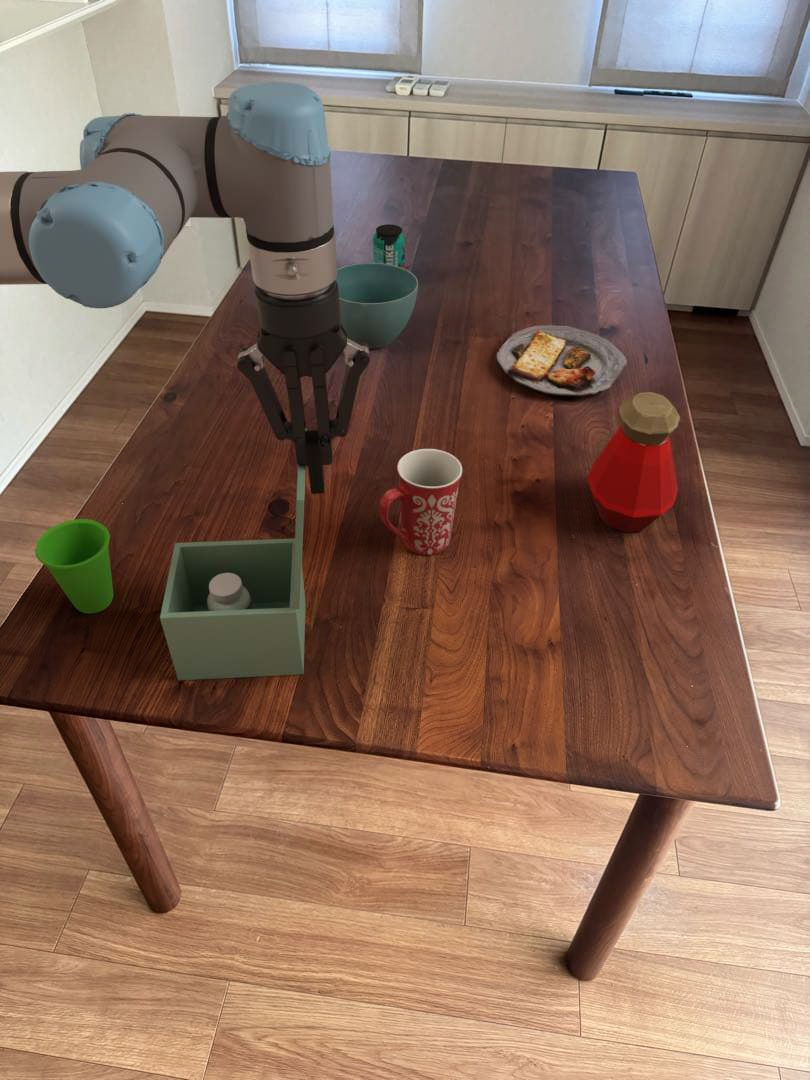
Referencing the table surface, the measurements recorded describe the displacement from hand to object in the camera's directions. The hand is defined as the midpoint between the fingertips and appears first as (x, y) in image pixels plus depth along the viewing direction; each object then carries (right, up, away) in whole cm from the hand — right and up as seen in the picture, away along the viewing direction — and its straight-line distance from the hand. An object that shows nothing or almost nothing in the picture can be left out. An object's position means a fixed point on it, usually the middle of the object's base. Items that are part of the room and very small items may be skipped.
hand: (317, 485), depth 87 cm
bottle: (+44, -2, +36) cm, 57 cm away
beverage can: (+6, +53, +94) cm, 108 cm away
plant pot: (+3, +35, +75) cm, 83 cm away
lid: (-3, -4, +3) cm, 6 cm away
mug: (+11, -7, +31) cm, 33 cm away
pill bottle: (-13, -19, +16) cm, 28 cm away
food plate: (+40, +27, +68) cm, 83 cm away
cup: (-33, -14, +21) cm, 42 cm away
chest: (-11, -19, +17) cm, 28 cm away
